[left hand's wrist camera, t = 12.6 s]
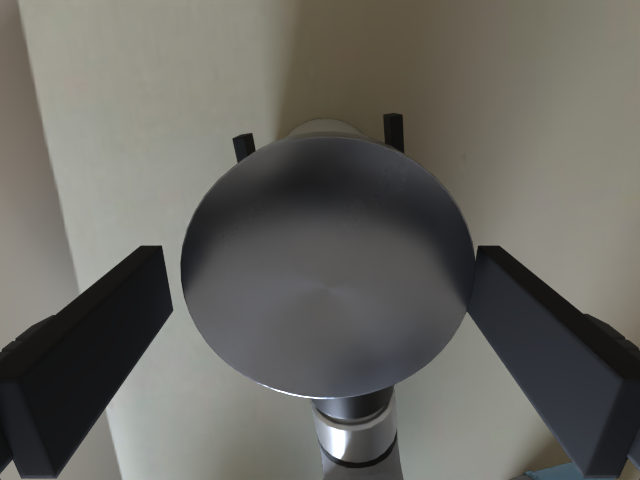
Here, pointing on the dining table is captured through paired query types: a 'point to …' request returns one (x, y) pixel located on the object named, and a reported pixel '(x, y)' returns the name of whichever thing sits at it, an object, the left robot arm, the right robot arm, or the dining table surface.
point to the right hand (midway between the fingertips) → (316, 125)
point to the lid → (327, 266)
